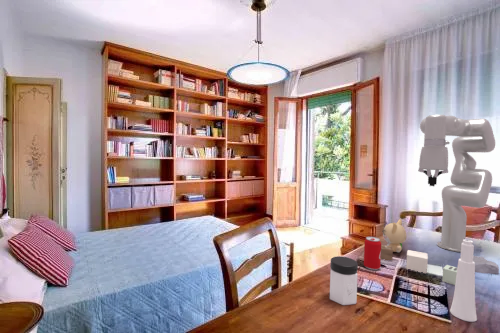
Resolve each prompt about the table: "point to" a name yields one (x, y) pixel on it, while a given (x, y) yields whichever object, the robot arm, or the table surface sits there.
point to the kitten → (395, 235)
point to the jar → (343, 280)
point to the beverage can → (372, 253)
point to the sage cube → (449, 274)
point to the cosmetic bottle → (465, 285)
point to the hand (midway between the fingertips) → (432, 185)
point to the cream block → (417, 261)
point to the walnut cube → (386, 252)
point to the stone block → (485, 265)
